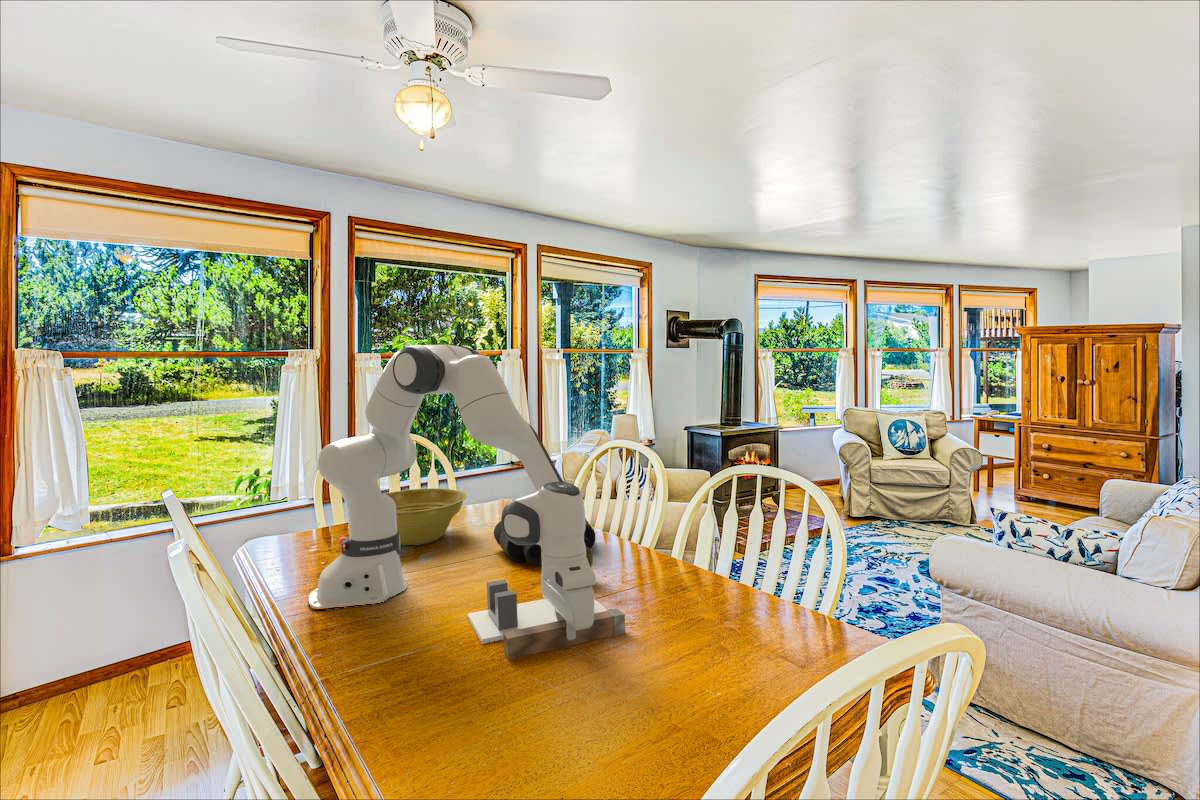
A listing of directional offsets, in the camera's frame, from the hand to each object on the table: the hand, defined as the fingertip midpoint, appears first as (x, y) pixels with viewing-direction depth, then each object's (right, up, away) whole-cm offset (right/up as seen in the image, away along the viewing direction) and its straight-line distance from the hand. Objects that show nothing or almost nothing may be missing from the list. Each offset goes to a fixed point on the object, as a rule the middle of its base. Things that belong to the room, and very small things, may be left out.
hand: (566, 633), depth 121 cm
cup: (+1, 0, +33) cm, 33 cm away
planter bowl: (-52, +1, +75) cm, 92 cm away
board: (-7, -1, +12) cm, 14 cm away
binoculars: (-8, +1, +57) cm, 58 cm away
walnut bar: (0, -2, 0) cm, 2 cm away
